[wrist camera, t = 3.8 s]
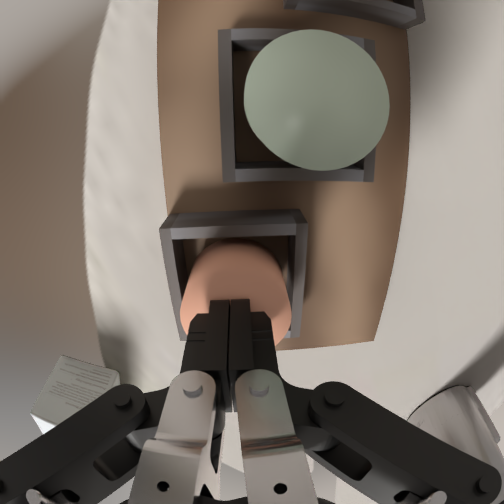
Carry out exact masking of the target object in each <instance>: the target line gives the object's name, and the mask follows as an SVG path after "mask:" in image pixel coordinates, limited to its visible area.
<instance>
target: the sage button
mask: <svg viewBox="0 0 504 504" xmlns="http://www.w3.org/2000/svg"><path fill="white" fill-rule="evenodd" d="M389 107H390V104H389V94H388V89H387V85H386V82H385V79H384V77H383V75H382V73H381V71H380V69H379V67H378V66H377V64H376V63H375V61H374V60H373V59H372V58H371V56H370V55H369V54H368V53H367V52H366V51H365V50H364V49H362V48H361V47H360V46H359V45H357V44H356V43H354V42H353V41H351V40H349V39H348V38H346V37H343V36H341V35H339V34H336V33H332V32H329V31H323V30H312V29H309V30H299V31H294V32H290V33H288V34H285V35H282V36H280V37H278V38H277V39H275V40H273V41H272V42H270V43H269V44H268V45H266V46H265V47H264V48H263V49H262V50H261V51H260V52H259V54H258V55H257V56H256V58H255V59H254V61H253V63H252V65H251V67H250V69H249V71H248V74H247V77H246V82H245V89H244V110H245V114H246V118H247V120H248V123H249V125H250V127H251V129H252V130H253V132H254V133H255V134H256V136H257V137H258V138H259V139H260V140H261V141H262V142H263V143H264V144H265V145H266V147H267V148H268V149H269V150H271V151H272V152H273V153H274V154H275V155H277V156H278V157H280V158H281V159H283V160H285V161H287V162H289V163H291V164H293V165H295V166H298V167H301V168H305V169H310V170H319V171H326V170H335V169H340V168H344V167H347V166H349V165H352V164H354V163H356V162H358V161H359V160H361V159H362V158H364V157H365V156H366V155H367V154H368V153H370V152H371V151H372V149H373V148H374V147H375V146H376V145H377V143H378V142H379V140H380V139H381V137H382V135H383V133H384V131H385V128H386V125H387V122H388V117H389Z"/></svg>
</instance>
